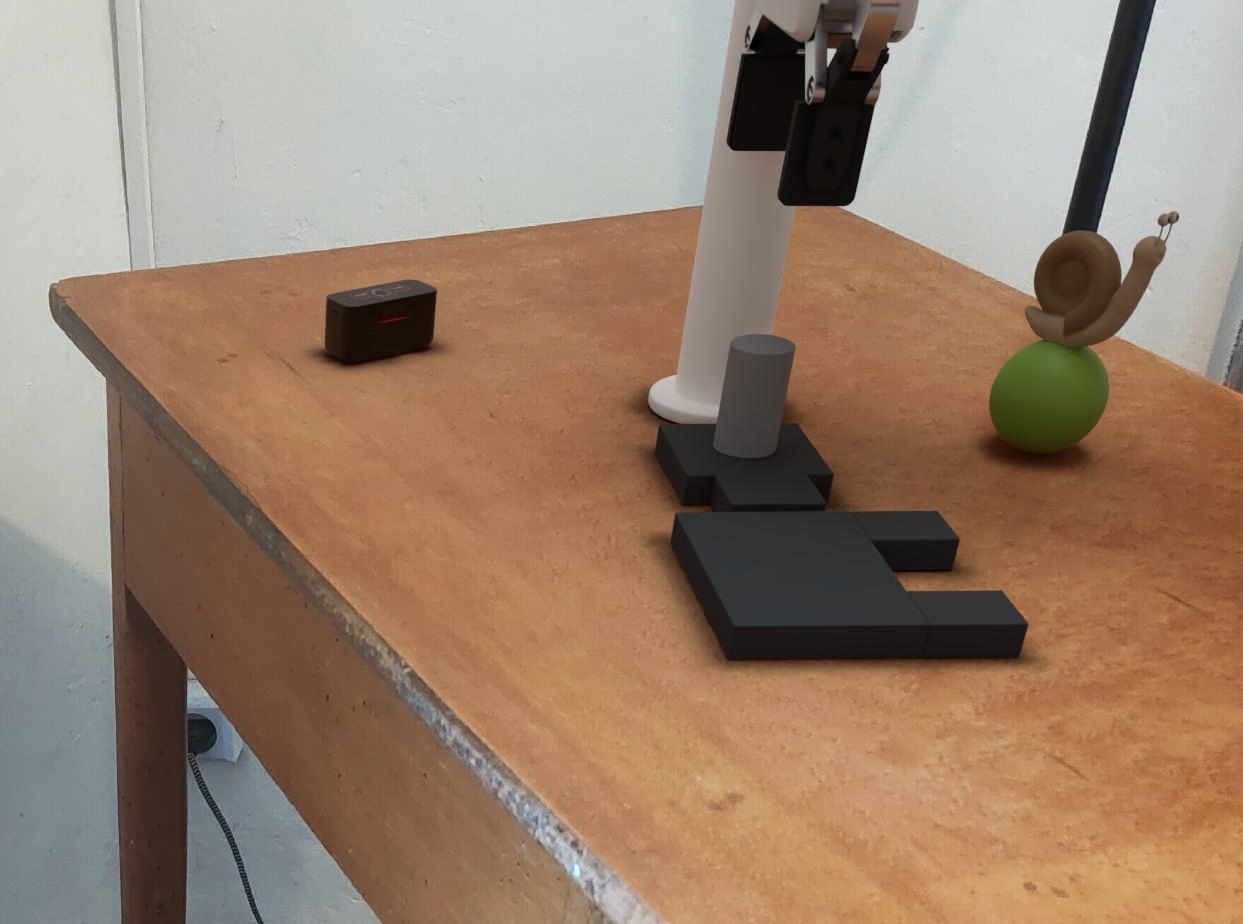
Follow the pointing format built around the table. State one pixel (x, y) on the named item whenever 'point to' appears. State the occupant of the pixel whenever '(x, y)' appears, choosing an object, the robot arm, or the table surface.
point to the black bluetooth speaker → (380, 320)
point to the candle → (729, 259)
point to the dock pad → (837, 586)
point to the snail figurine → (1070, 339)
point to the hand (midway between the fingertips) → (786, 175)
